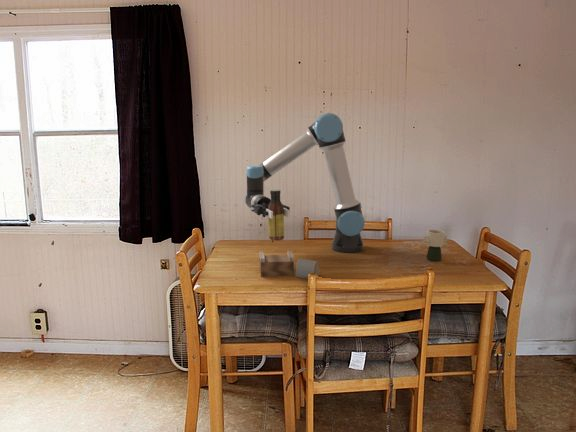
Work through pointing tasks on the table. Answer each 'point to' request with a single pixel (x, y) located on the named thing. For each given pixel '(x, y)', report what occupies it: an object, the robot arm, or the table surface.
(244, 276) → the table surface
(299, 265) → the ceramic mug
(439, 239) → the character mug
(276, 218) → the sauce bottle
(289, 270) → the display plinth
